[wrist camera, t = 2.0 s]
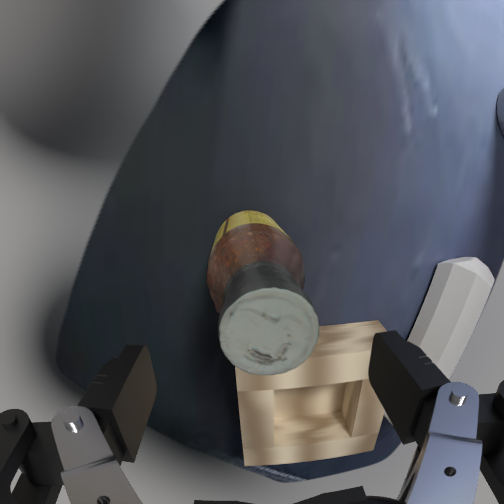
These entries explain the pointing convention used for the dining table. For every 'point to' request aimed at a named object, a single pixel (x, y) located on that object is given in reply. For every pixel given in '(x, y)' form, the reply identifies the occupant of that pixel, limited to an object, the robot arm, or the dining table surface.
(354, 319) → the dining table surface
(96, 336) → the dining table surface
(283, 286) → the sauce bottle
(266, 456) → the socket block
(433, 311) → the crystal
